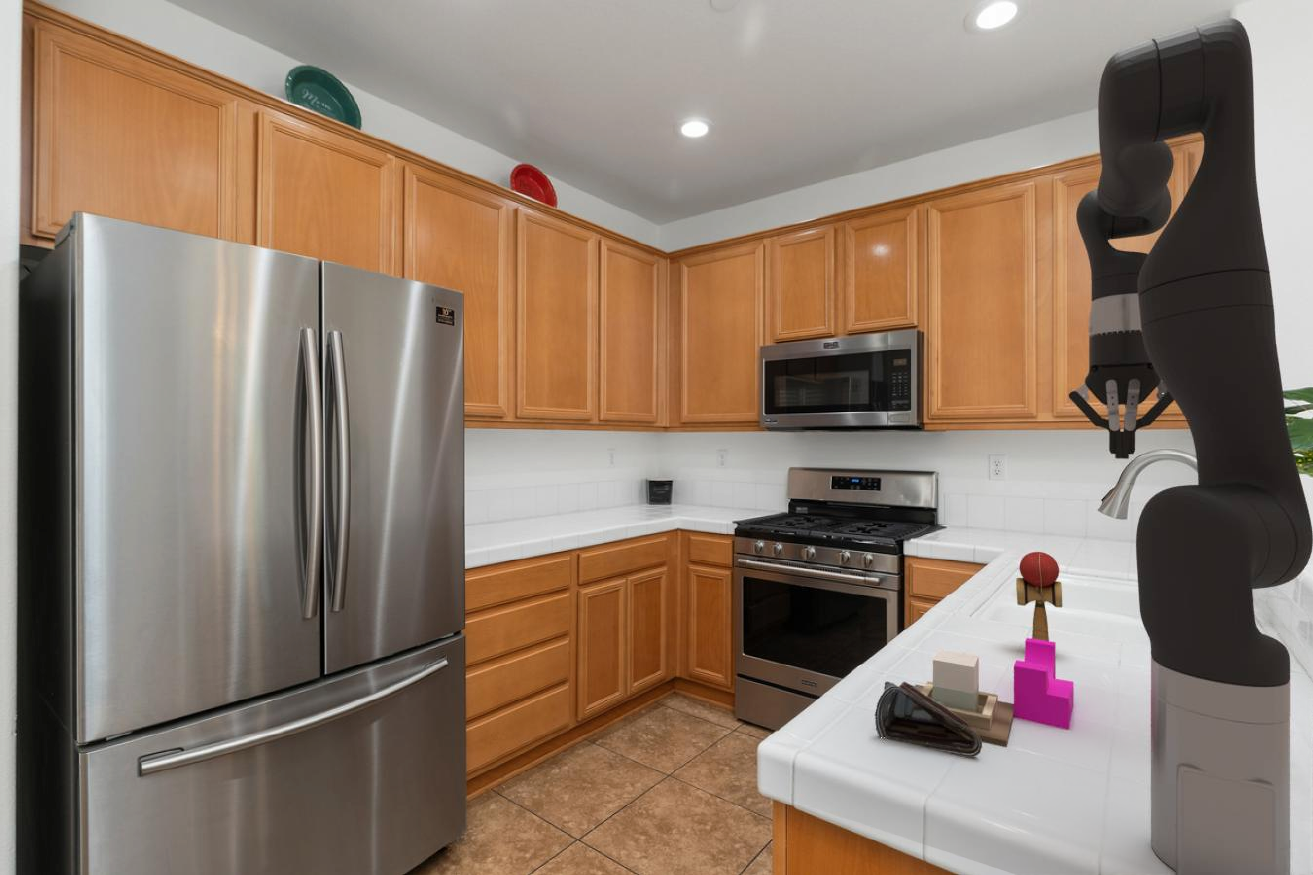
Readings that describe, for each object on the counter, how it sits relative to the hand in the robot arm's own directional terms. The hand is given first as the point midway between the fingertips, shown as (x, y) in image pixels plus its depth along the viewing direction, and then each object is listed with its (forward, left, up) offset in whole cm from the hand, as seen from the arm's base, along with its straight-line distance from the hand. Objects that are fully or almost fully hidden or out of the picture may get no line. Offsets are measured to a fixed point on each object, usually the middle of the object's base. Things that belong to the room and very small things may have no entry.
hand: (1121, 458), depth 89 cm
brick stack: (-14, +19, -34) cm, 41 cm away
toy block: (-3, +9, -36) cm, 37 cm away
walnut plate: (-14, +19, -35) cm, 42 cm away
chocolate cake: (-23, +17, -37) cm, 46 cm away
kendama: (+22, +11, -35) cm, 43 cm away
